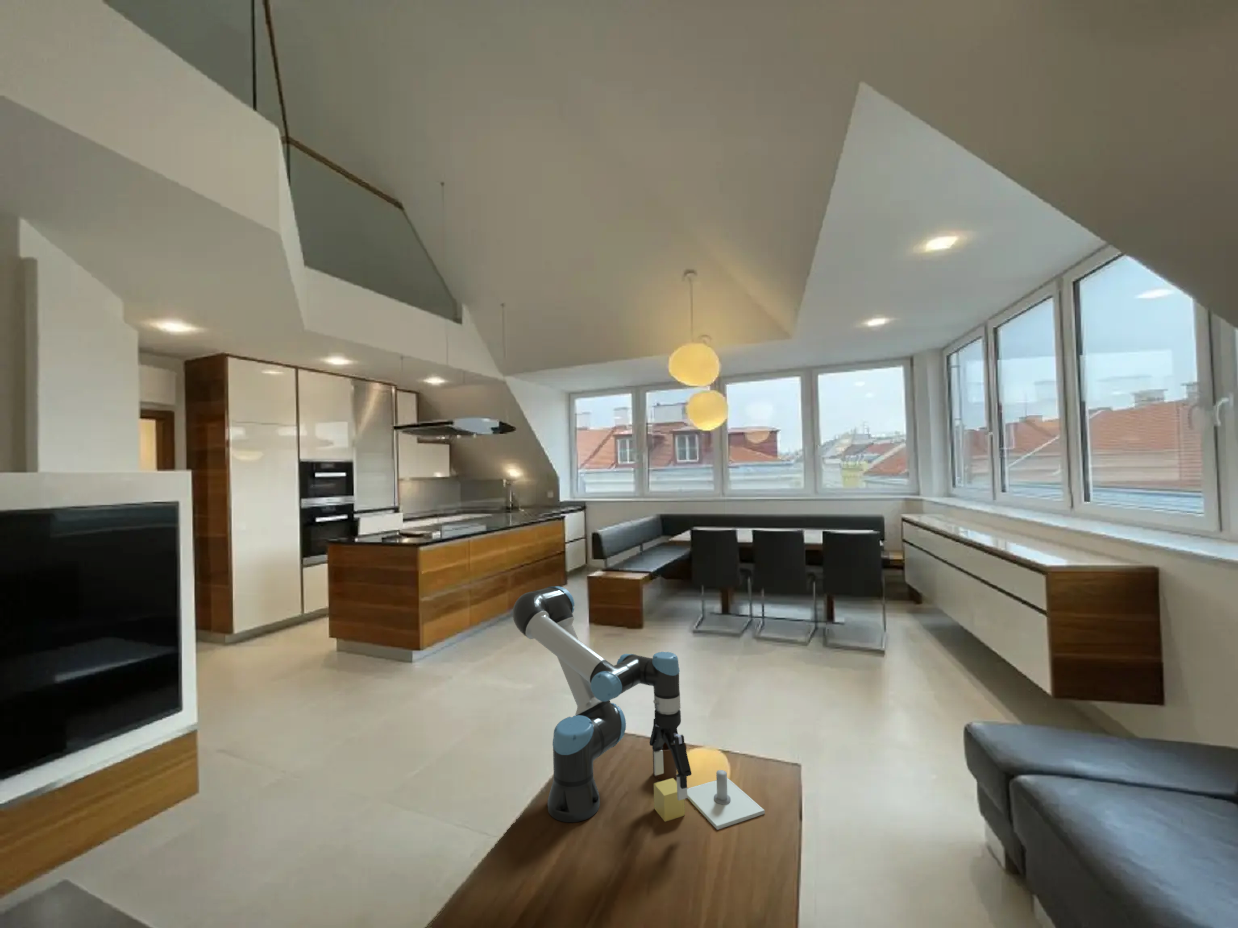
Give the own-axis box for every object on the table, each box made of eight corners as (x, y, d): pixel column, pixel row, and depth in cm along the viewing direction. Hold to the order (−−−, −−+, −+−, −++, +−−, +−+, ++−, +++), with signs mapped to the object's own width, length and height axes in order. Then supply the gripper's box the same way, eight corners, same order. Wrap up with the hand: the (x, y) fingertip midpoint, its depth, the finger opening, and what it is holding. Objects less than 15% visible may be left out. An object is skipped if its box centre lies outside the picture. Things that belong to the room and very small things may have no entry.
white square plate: (682, 793, 151) (682, 763, 152) (726, 780, 158) (726, 752, 158) (717, 829, 135) (716, 796, 135) (764, 813, 141) (763, 782, 142)
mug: (680, 762, 168) (680, 734, 169) (692, 774, 161) (692, 744, 162) (649, 771, 163) (648, 741, 164) (660, 783, 156) (659, 752, 157)
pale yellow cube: (654, 808, 144) (653, 783, 145) (673, 802, 147) (673, 777, 147) (664, 821, 139) (664, 795, 139) (684, 815, 141) (684, 789, 141)
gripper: (637, 696, 154) (639, 767, 153) (677, 729, 131) (681, 814, 130) (658, 691, 157) (661, 761, 156) (702, 723, 134) (705, 806, 133)
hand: (670, 785), depth 143 cm, fingers open, 13 cm apart
